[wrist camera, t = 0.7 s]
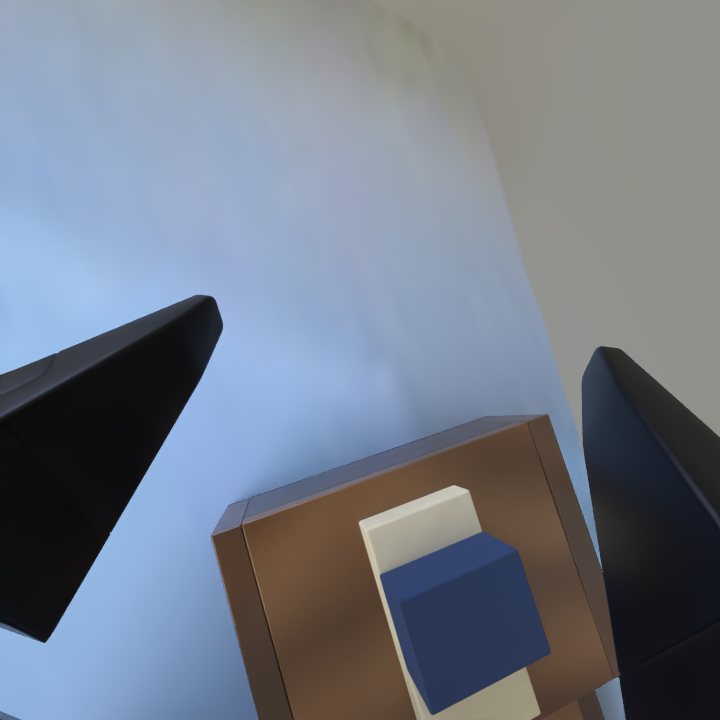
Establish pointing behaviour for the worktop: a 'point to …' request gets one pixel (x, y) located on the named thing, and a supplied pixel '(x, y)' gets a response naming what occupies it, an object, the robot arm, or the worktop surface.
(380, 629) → the brown wooden cabinet
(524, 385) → the worktop surface
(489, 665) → the blue sleeved eraser
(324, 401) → the worktop surface
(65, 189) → the worktop surface
